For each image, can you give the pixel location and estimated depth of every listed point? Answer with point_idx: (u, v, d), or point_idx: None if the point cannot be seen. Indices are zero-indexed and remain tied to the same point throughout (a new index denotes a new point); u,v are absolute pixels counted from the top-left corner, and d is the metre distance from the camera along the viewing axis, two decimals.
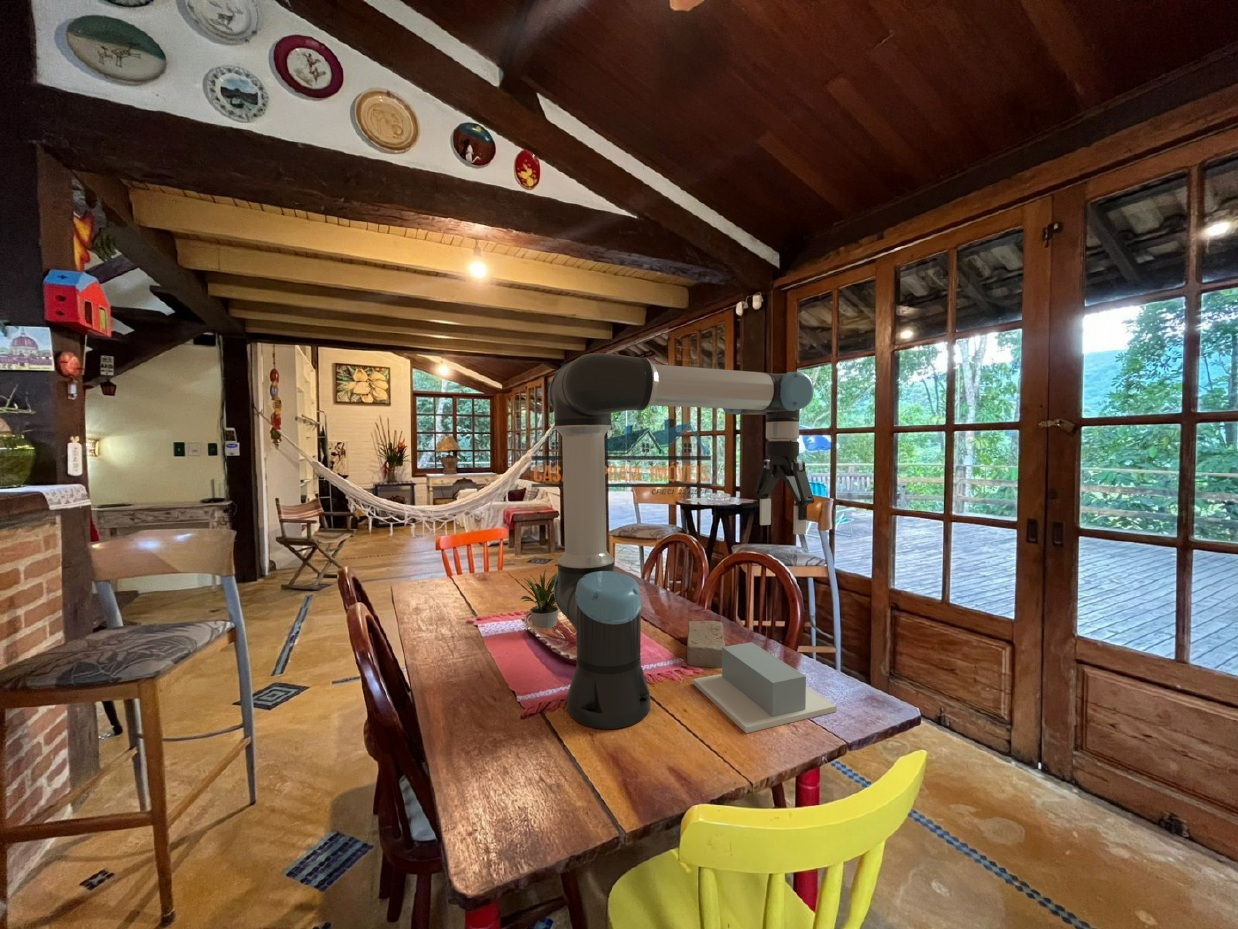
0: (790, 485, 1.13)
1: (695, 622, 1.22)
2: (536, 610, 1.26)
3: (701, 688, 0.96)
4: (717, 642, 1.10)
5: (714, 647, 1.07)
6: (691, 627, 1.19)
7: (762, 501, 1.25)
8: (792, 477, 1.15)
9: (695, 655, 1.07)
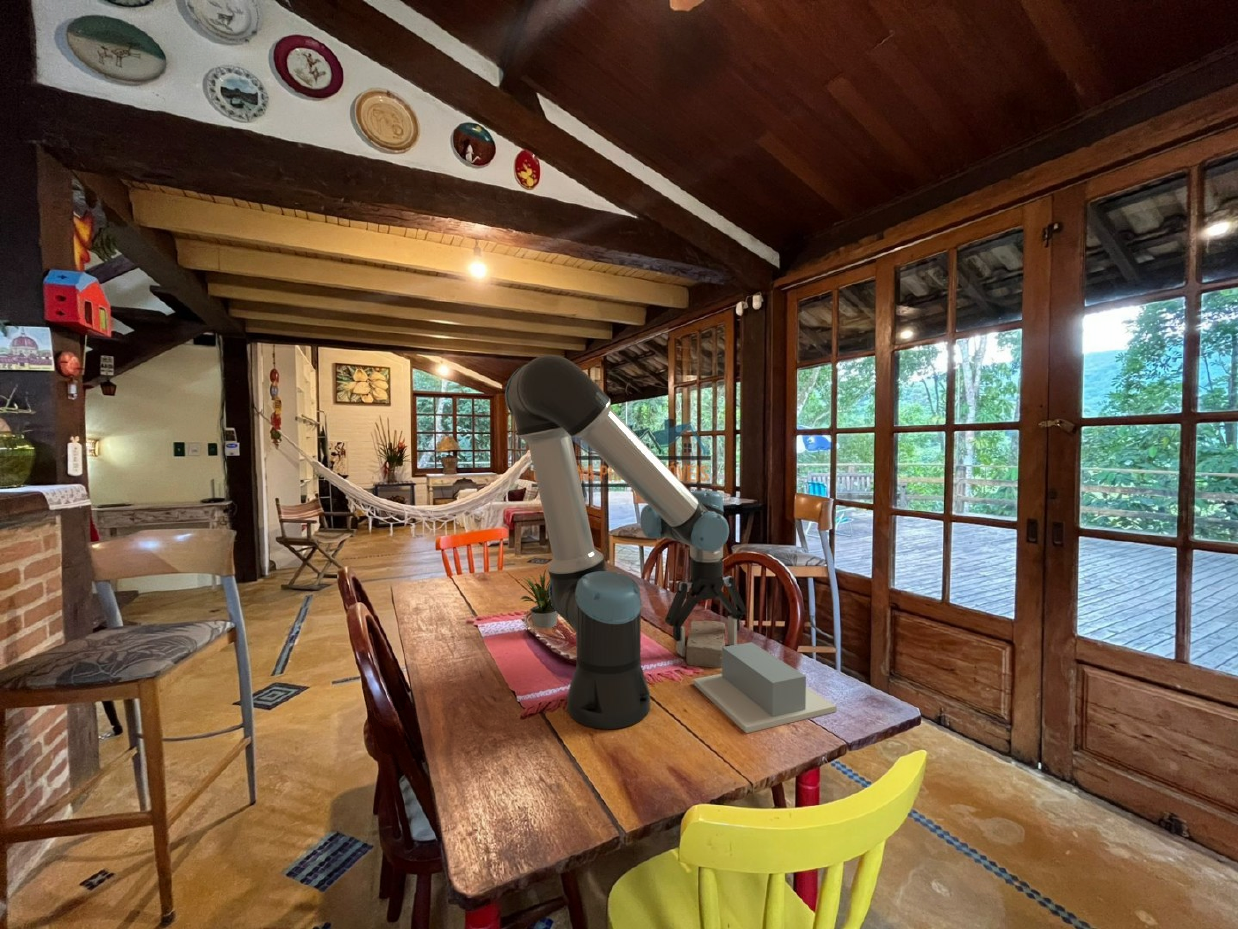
0: None
1: (697, 622, 1.22)
2: (536, 610, 1.26)
3: (701, 688, 0.96)
4: (717, 642, 1.10)
5: (713, 647, 1.07)
6: (693, 626, 1.19)
7: (728, 618, 1.18)
8: (691, 597, 1.13)
9: (693, 654, 1.07)
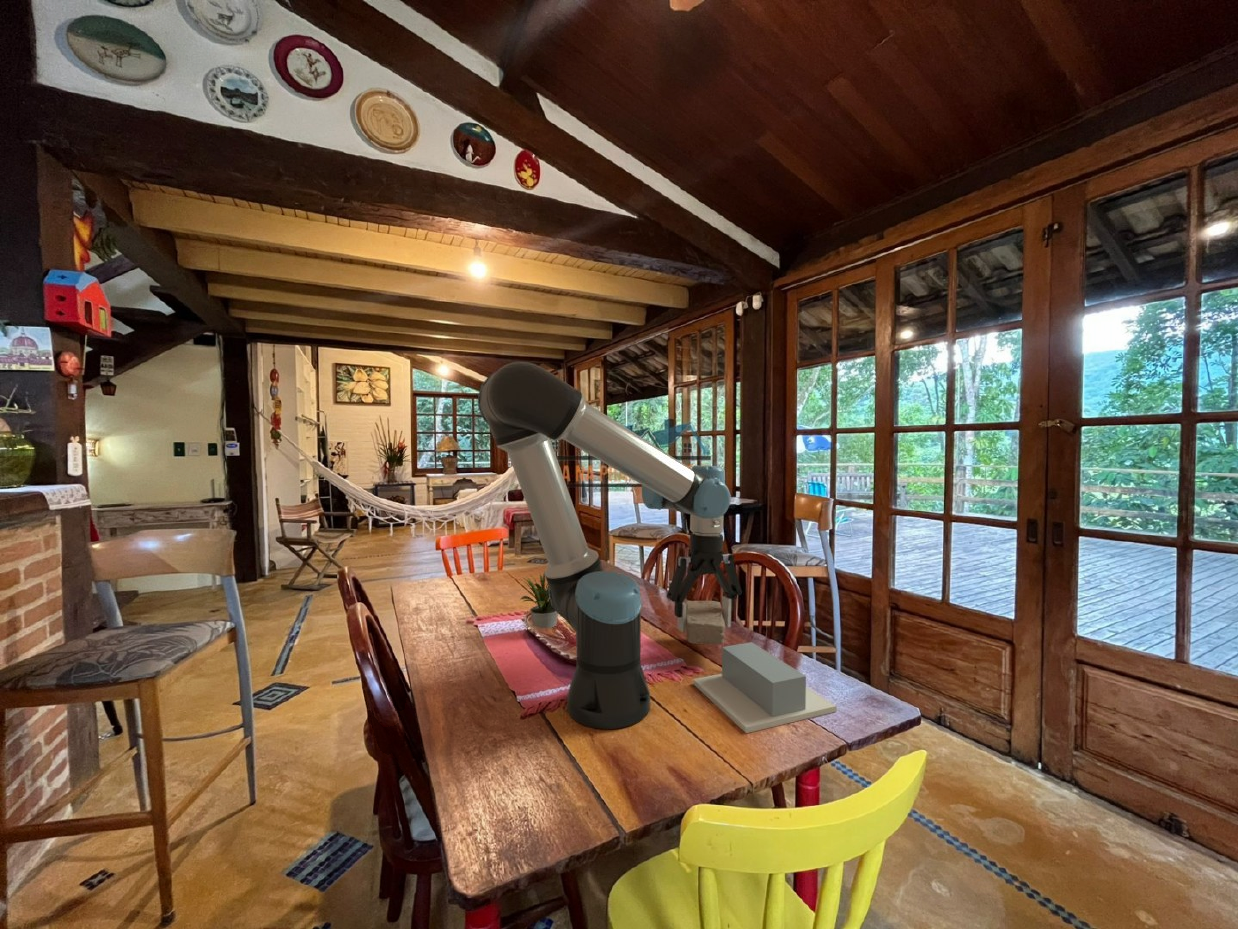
0: None
1: (692, 602, 1.21)
2: (536, 610, 1.26)
3: (701, 688, 0.96)
4: (716, 619, 1.10)
5: (714, 623, 1.07)
6: (689, 606, 1.18)
7: (723, 598, 1.17)
8: (691, 572, 1.13)
9: (694, 631, 1.07)
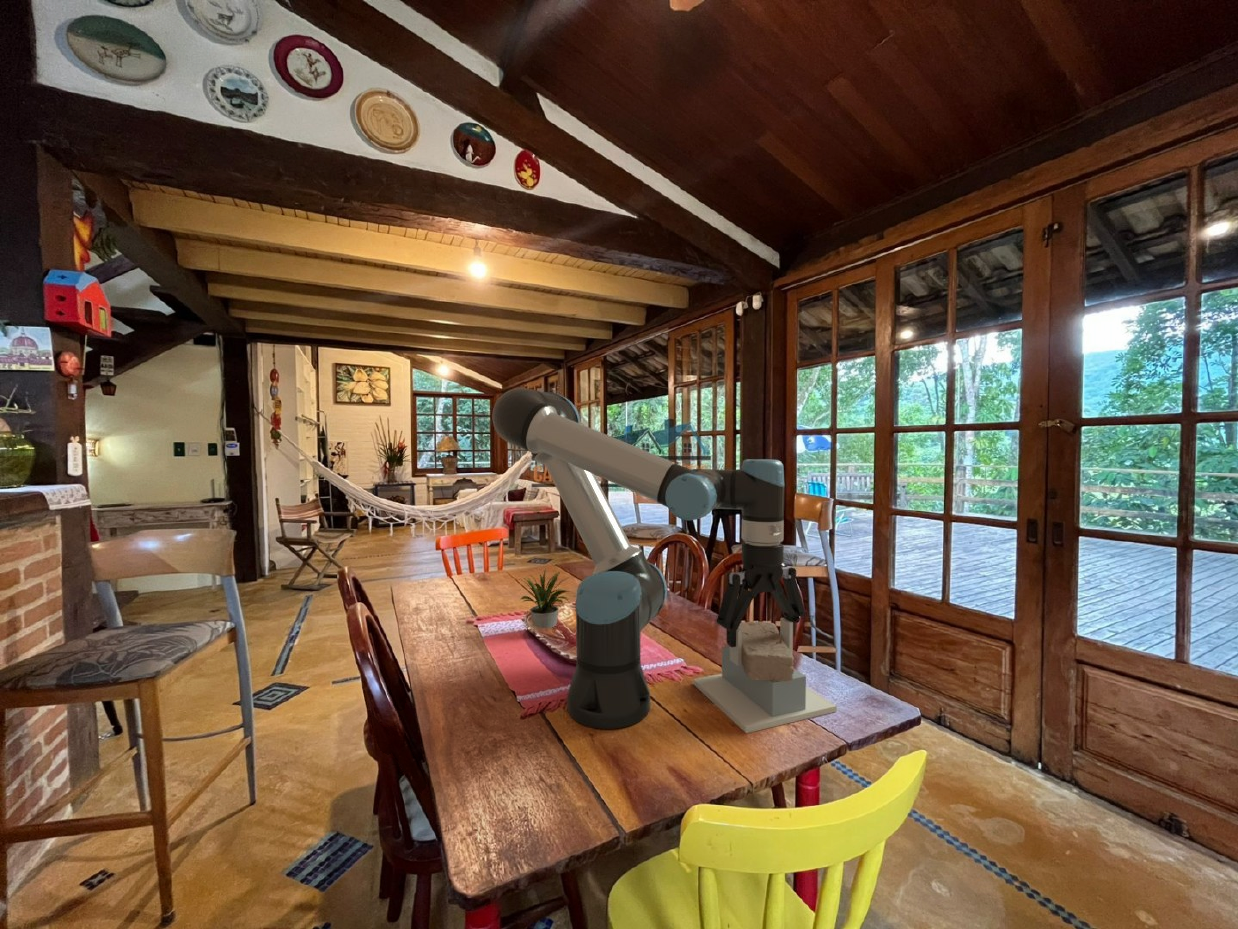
0: None
1: (742, 624, 1.00)
2: (536, 610, 1.26)
3: (701, 688, 0.96)
4: (780, 648, 0.89)
5: (780, 655, 0.86)
6: (740, 629, 0.97)
7: (781, 621, 0.96)
8: (745, 591, 0.92)
9: (756, 665, 0.86)
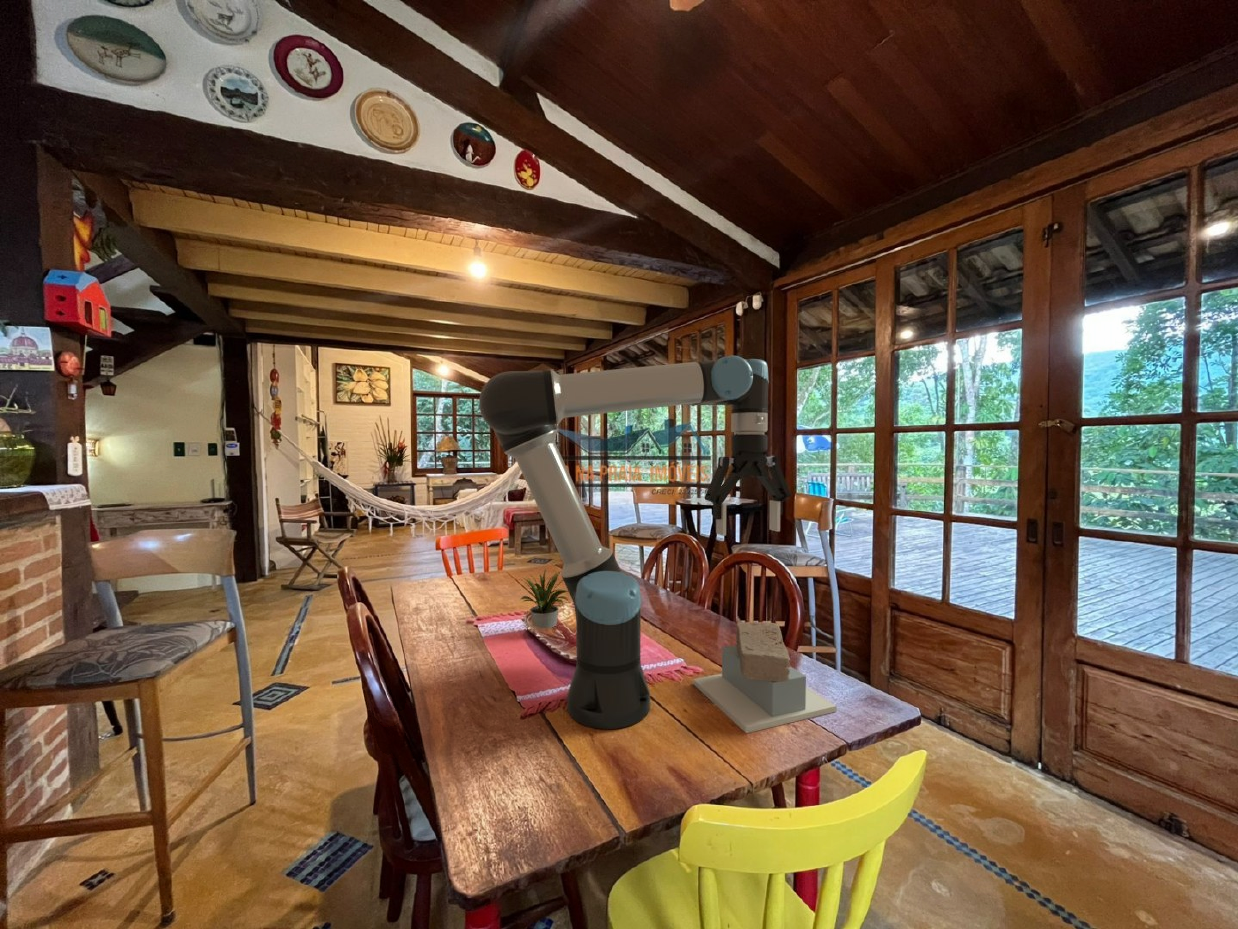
0: None
1: (745, 624, 1.00)
2: (536, 610, 1.26)
3: (701, 688, 0.96)
4: (778, 648, 0.89)
5: (775, 655, 0.86)
6: (741, 629, 0.98)
7: (770, 503, 1.10)
8: (733, 474, 1.05)
9: (751, 664, 0.86)
